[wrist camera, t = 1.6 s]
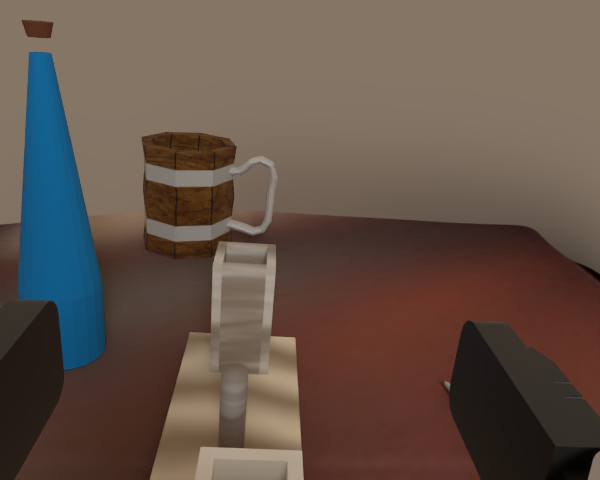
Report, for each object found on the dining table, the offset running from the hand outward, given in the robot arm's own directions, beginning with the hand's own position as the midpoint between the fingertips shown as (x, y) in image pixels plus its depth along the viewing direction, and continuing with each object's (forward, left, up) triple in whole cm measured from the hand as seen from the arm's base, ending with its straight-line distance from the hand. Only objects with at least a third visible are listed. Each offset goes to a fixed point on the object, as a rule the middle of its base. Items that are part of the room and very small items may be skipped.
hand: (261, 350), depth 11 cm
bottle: (-31, +29, -26) cm, 50 cm away
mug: (-31, +60, -26) cm, 73 cm away
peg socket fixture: (-12, +28, -26) cm, 40 cm away
